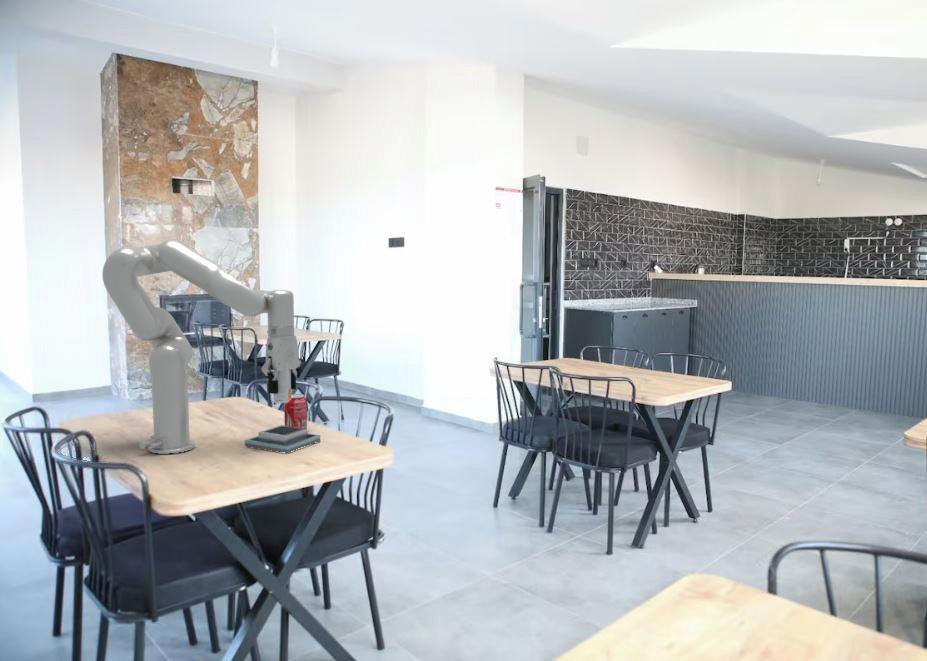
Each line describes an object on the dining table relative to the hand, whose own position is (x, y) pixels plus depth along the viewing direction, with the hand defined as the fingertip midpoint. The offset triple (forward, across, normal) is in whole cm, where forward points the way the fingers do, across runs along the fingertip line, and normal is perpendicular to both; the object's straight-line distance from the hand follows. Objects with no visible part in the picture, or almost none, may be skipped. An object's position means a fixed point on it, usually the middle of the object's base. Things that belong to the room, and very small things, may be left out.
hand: (282, 390), depth 201 cm
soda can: (+17, +13, +6) cm, 22 cm away
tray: (+16, 0, 0) cm, 16 cm away
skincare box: (+3, 0, 0) cm, 3 cm away
